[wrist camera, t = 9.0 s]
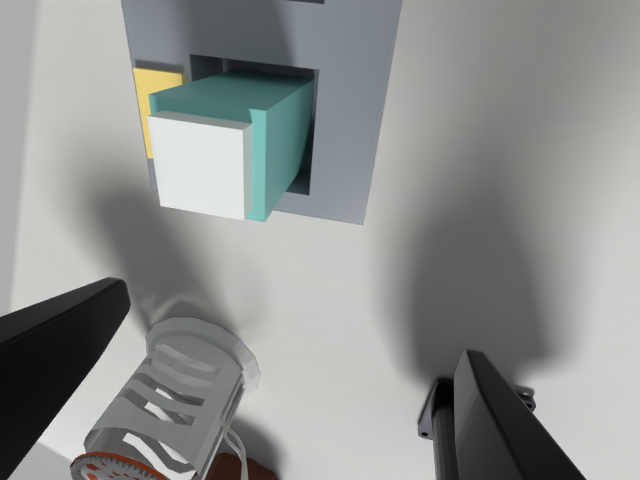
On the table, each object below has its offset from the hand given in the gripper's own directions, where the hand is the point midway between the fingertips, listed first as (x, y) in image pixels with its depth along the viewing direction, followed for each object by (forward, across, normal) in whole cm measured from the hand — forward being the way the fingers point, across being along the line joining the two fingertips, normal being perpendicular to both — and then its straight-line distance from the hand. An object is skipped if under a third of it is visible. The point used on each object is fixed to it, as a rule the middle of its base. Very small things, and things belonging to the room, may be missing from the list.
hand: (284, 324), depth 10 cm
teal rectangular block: (+10, +4, -3) cm, 11 cm away
